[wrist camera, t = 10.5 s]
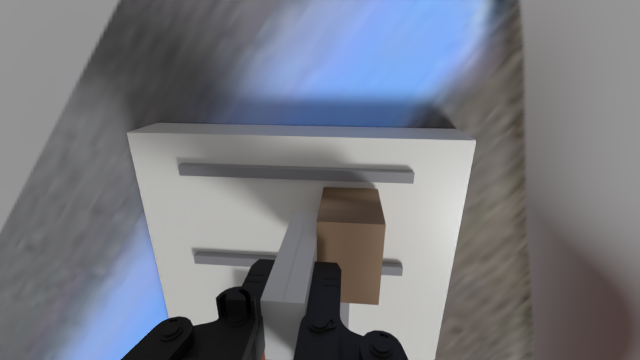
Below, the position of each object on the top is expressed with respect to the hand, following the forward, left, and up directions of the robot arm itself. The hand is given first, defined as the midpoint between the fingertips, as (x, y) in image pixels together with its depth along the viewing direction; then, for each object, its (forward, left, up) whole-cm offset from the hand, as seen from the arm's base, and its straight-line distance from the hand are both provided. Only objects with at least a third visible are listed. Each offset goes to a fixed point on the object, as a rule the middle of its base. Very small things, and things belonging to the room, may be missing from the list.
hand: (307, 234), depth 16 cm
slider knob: (+2, 0, -2) cm, 3 cm away
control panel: (-1, -8, -5) cm, 9 cm away
